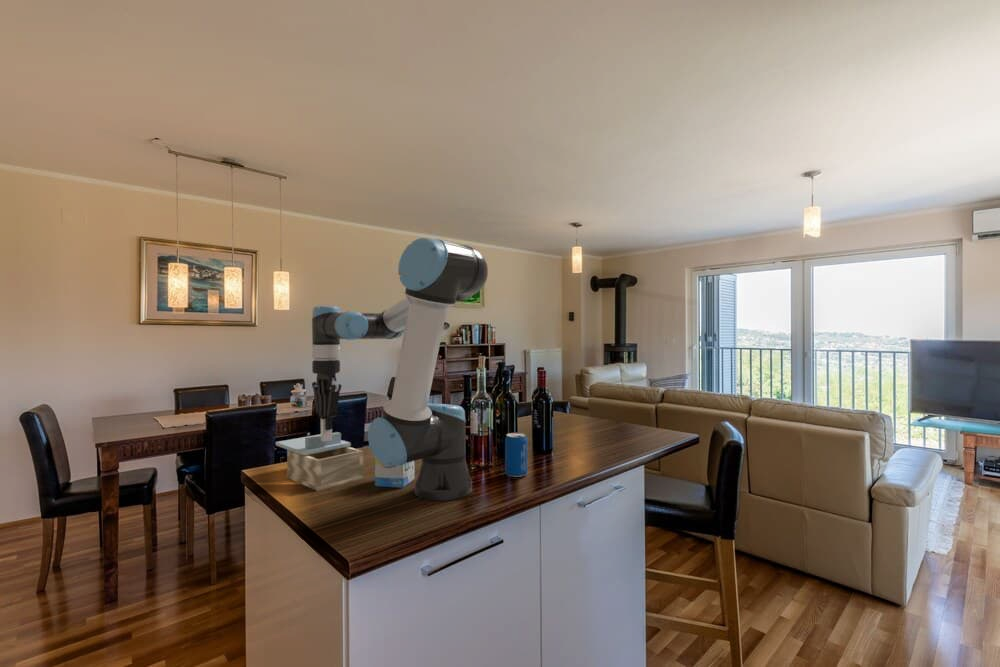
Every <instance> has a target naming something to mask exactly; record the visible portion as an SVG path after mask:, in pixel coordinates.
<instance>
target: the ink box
mask: <svg viewBox="0 0 1000 667" xmlns="http://www.w3.org/2000/svg"><path fill="white" fill-rule="evenodd" d="M374 460H375V461H374V462H375V463H374V465H375V466H374V467H375V468H374V470H375V471H374V478H375V479H374V486H375V487H383V488H384V487H386V488H401V489H403V488H404V487H406V486H407V485H408V484H410V483H411V482H412V481H414V480H415V461H412V462H408V463H405V464H404V465H396V466H391V467H388V466H385V465H383V464H381V463H380V462H379V461H378V460H377V459H376V458H375V457H374Z"/></svg>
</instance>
